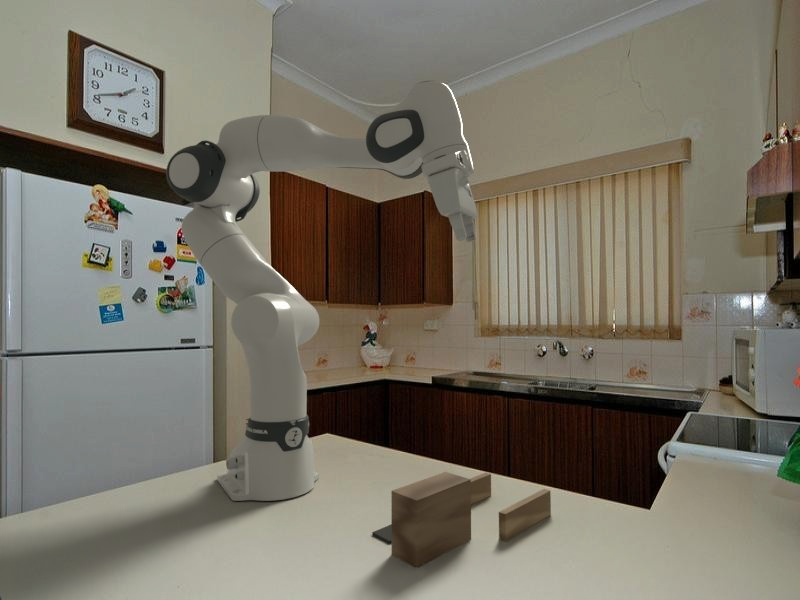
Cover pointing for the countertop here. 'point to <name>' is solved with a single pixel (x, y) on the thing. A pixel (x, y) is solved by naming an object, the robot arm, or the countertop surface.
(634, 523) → the countertop surface
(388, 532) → the mat
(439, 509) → the walnut block
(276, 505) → the countertop surface
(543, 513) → the channel
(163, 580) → the countertop surface
